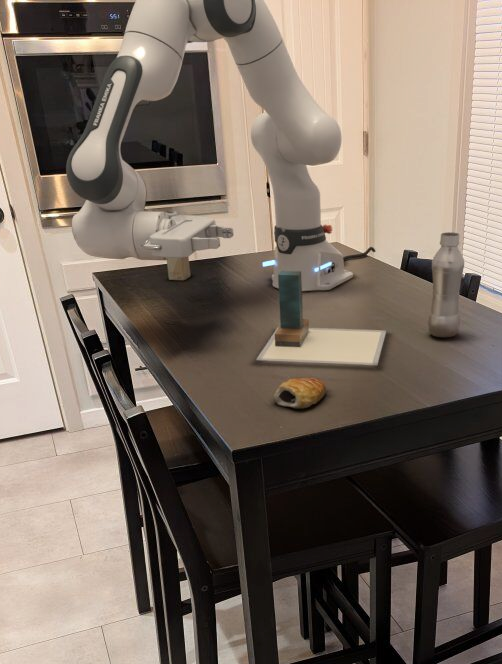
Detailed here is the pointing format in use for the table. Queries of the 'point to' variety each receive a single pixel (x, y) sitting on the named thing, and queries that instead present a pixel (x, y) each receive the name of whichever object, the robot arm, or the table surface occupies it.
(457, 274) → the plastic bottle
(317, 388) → the pastry
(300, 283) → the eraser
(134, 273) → the table surface
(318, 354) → the whiteboard
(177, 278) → the box
